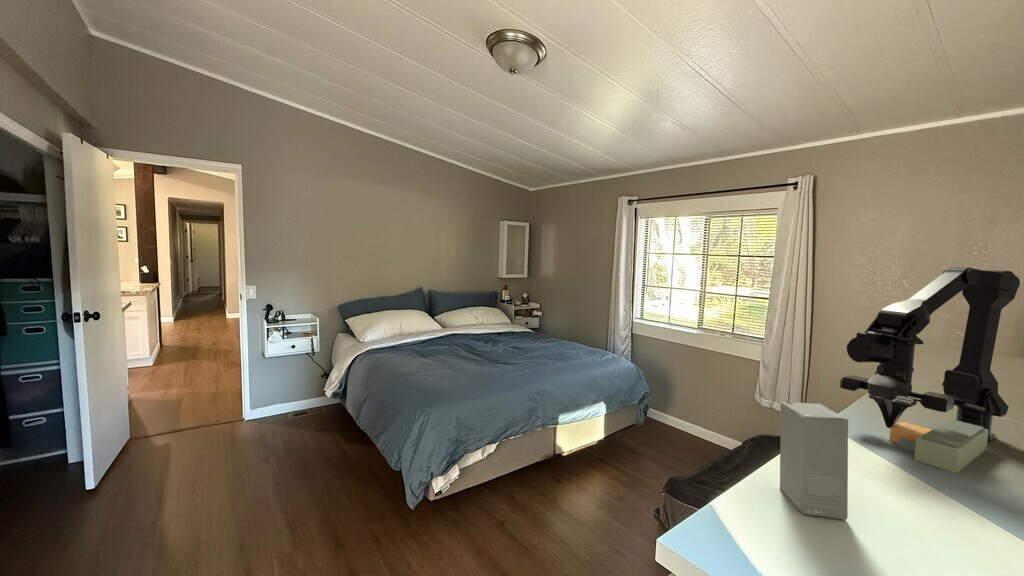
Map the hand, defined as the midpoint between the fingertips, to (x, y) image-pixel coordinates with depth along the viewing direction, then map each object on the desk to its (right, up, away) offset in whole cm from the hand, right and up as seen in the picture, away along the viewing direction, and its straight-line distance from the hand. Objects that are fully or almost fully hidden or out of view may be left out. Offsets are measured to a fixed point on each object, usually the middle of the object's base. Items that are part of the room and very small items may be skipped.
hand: (889, 427), depth 95 cm
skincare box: (-40, -3, -29) cm, 49 cm away
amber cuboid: (+2, -3, -3) cm, 5 cm away
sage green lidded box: (+4, -3, -7) cm, 9 cm away
